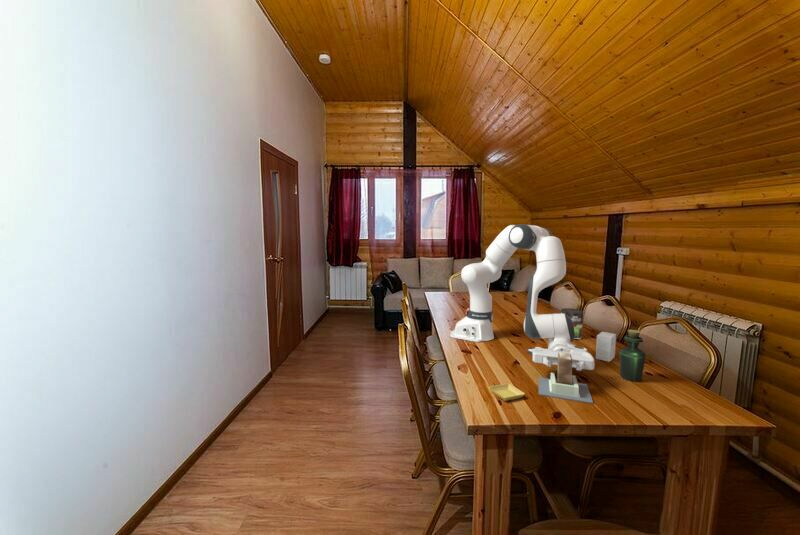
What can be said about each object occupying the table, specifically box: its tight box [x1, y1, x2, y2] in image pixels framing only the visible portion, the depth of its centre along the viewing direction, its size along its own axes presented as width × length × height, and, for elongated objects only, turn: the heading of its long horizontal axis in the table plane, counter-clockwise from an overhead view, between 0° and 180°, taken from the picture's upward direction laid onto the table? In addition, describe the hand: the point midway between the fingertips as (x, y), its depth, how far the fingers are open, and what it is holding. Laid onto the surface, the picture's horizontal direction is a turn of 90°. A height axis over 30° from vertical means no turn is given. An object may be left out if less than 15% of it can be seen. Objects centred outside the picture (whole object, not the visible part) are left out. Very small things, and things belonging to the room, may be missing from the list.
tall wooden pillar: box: [556, 353, 573, 385], centre depth 115 cm, size 4×6×11 cm, turn 158°
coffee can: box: [560, 307, 584, 340], centre depth 175 cm, size 10×10×14 cm
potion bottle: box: [618, 329, 647, 382], centre depth 125 cm, size 8×8×18 cm
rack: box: [549, 371, 580, 398], centre depth 116 cm, size 9×10×3 cm
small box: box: [595, 331, 617, 362], centre depth 145 cm, size 8×6×10 cm
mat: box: [537, 376, 594, 404], centre depth 116 cm, size 16×14×1 cm
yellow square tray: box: [488, 382, 526, 402], centre depth 112 cm, size 9×9×2 cm
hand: (563, 366), depth 116 cm, fingers open, 8 cm apart
